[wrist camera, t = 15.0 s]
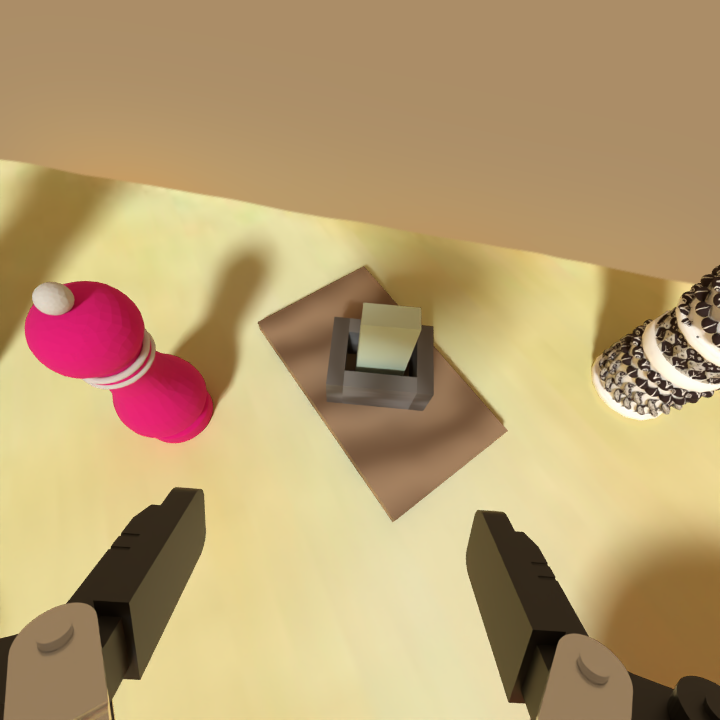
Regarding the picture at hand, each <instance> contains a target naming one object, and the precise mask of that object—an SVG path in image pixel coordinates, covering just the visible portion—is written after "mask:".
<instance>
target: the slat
mask: <svg viewBox="0 0 720 720" xmlns="http://www.w3.org/2000/svg"><path fill="white" fill-rule="evenodd" d="M420 332H421V308H419V307H407V306H396V305H385V304H373V303H363V310H362V318H361V326H360V334H359V342H358V350H357V358H356V368H355V371H356V372H366V373H376V374H387V375H397V376H403V374H404V371H405V369H406V367H407V364H408V362H409V359H410V357H411V354H412V352H413V349H414V347H415V344H416V342H417V339H418V337H419V335H420Z"/></svg>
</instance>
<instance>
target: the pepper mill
mask: <svg viewBox="0 0 720 720" xmlns="http://www.w3.org/2000/svg"><path fill="white" fill-rule="evenodd" d="M32 301H33V303H34V304H33V306H32V307H31V308H30V311H29V313H28V315H27V318H26V322H25V336H26V340H27V343H28V346H29V348H30V350H31V351H32V352H33V354H34V355H35V356H36V358H37V359H38V360H39V361H40V362H41V363H42V364H44V365H45V366H46V367H48V368H49V369H51V370H53V371H55V372H57V373H59V374H61V375H64V376H68V377H72V378H80V379H82V380H84V381H85V382H87V383H88V384H90V385H91V386H93V387H96V388H100V389H109V390H110V391H111V392H112V395H113V404H114V407H115V410H116V412H117V414H118V416H119V418H120V419H121V421H122V422H123V423H124V424H125V425H126V426H127V427H129V428H130V429H131V430H133V431H134V432H135V433H137V434H140V435H142V436H146V437H151V438H157V439H159V440H161V441H163V442H167V443H181V442H185V441H187V440H190V439H192V438H194V437H195V436H197V435H198V434H199V433H201V432H202V431H203V430H204V429H205V427H206V426H207V424H208V423H209V421H210V419H211V416H212V412H213V402H212V399H211V396H210V394H209V393H208V392H207V390H206V384H205V381H204V379H203V377H202V375H201V374H200V373H199V371H198V370H197V369H196V368H195V367H194V366H192V365H191V364H190V363H189V362H187V361H185V360H183V359H181V358H179V357H177V356H174V355H170V354H163V353H160V352H157V351H156V347H155V342H154V340H153V338H152V336H151V335H150V334H149V333H148V332H147V331H146V329H145V328H144V322H143V319H142V316H141V313H140V311H139V309H138V308H137V306H136V305H135V304H134V302H133V301H132V300H130V299H129V298H128V297H127V296H126V295H125V294H123V293H122V292H120V291H119V290H118V289H115V288H113V287H111V286H109V285H106V284H103V283H99V282H91V281H79V282H71V283H66V284H60V283H56V282H46V283H43V284H41V285H39V286H38V287H36V288H35V290H34V292H33V294H32Z"/></svg>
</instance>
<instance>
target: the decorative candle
mask: <svg viewBox="0 0 720 720" xmlns="http://www.w3.org/2000/svg"><path fill="white" fill-rule="evenodd" d="M717 276H718V277H717ZM591 371H592V383H593V385H594V387H595V389H596V391H597V393H598V395H599V397H600V398H601V399H602V400H603V401H604V402H605V403H606V404H607V405H608V406H609V407H610V408H611V409H613V410H614V411H616V412H618V413H619V414H621V415H623V416H624V417H627V418H632V419H636V420H640V421H641V420H647V419H653V418H656V417H658V416H659V415H660V414H662V413H664V414H669V412H670V407H671V406H672V407H674V408H676V409H678V410H680V409H682V405H684V404H686V403H688V402H690V403H696V402H697V401H698V400H699V398H701V396H703V397H707V398H709V397H711V396H712V395H713V394H714V390H720V265H719V266H718V267H716V268H714V269H713V271H712V274H708V275H705V276H703V277H702V278H701V283H698V284H695V285H694V286H693V287H692V288H691V290H690V291H689V292H685V293H684V294H683V295H682V296H681V297H680V299H679V302H678V304H677V307H675V308H674V309H672V310H670V311H666V312H665V313H664V314H662V315H661V316H659V317H658V318H656V319H655V320H647V321H645V322H644V324H643V326H638V327H637V328H636V329H634V331H633V334H627V335H626V336H624V337H623V338H621V339H620V341H618V342H616V343H614V344H613V345H612V346H611V347H610V348H609V349H606V350H605V351H604V352H603V354H601V355H600V356H598V357H597V358H596V360H595V362H594V364H593V366H592V368H591ZM669 405H670V406H669Z"/></svg>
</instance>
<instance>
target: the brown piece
mask: <svg viewBox="0 0 720 720" xmlns="http://www.w3.org/2000/svg"><path fill="white" fill-rule="evenodd" d="M363 303H373V304H385V305H396V306H398V305H397V304H396V302H395V301H394V300H393V299H392V298H391V297H390V296H389V294H388V293H387V292H386V291H385V290H384V289H383V288H382V286H381V285H380V284H379V283H378V282H377V281H376V279H375V278H374V277H373V276H372V275H371V274H370V273H369V271H368V270H367V269H366V268H365V267H364V266H363V267H362V268H360V269H358V270H356V271H354V272H352V273H350V274H348V275H346V276H344V277H343V278H341V279H339V280H337V281H335V282H333V283H331V284H329V285H327V286H326V287H324V288H322V289H320V290H318V291H316V292H314V293H312V294H310V295H308V296H307V297H305V298H303V299H301V300H299V301H297V302H295V303H293V304H291V305H289V306H288V307H286V308H284V309H282V310H280V311H278V312H276V313H274V314H272V315H270V316H269V317H267V318H265V319H263V320H261V321H259V322H258V324H259V327H260V330H261V331H262V333H263V334H264V336H265V337H266V339H267V340H268V341H269V343H270V344H271V346H272V347H273V349H274V350H275V352H276V353H277V355H278V356H279V357H280V359H281V360H282V362H283V363H284V365H285V366H286V368H287V369H288V371H289V372H290V373H291V375H292V376H293V378H294V379H295V381H296V382H297V384H298V385H299V387H300V388H301V389H302V391H303V392H304V394H305V395H306V397H307V398H308V400H309V401H310V403H311V404H312V405H313V407H314V408H315V410H316V411H317V413H318V414H319V416H320V417H321V419H322V420H323V421H324V423H325V424H326V426H327V427H328V429H329V430H330V432H331V433H332V435H333V436H334V437H335V439H336V440H337V442H338V443H339V445H340V446H341V448H342V449H343V451H344V452H345V453H346V455H347V456H348V458H349V459H350V461H351V462H352V464H353V465H354V467H355V468H356V469H357V471H358V472H359V474H360V475H361V477H362V478H363V480H364V481H365V483H366V484H367V485H368V487H369V488H370V490H371V491H372V493H373V494H374V496H375V497H376V499H377V500H378V501H379V503H380V504H381V506H382V507H383V509H384V510H385V512H386V513H387V515H388V516H389V517H390V519H391V520H392V522H393V521H395V520H397V519H398V518H399V517H400V516H402V515H403V514H404V513H405V512H407V511H408V510H409V509H410V508H412V507H413V506H414V505H415V504H417V503H418V502H419V501H420V500H422V499H423V498H424V497H425V496H427V495H428V494H429V493H430V492H432V491H433V490H434V489H435V488H437V487H438V486H439V485H440V484H442V483H443V482H444V481H445V480H447V479H448V478H449V477H450V476H452V475H453V474H454V473H455V472H457V471H458V470H459V469H461V468H462V467H463V466H464V465H466V464H467V463H468V462H469V461H471V460H472V459H473V458H474V457H476V456H477V455H478V454H479V453H481V452H482V451H483V450H484V449H486V448H487V447H488V446H489V445H491V444H492V443H493V442H494V441H496V440H497V439H498V438H499V437H501V436H502V435H503V434H504V433H506V432H507V429H506V428H505V427H504V426H503V425H502V424H501V423H500V421H499V420H498V419H497V418H496V417H495V416H494V415H493V413H492V412H491V411H490V410H489V409H488V408H487V407H486V405H485V404H484V403H483V402H482V401H481V400H480V398H479V397H478V396H477V395H476V394H475V393H474V392H473V390H472V389H471V388H470V387H469V386H468V385H467V384H466V382H465V381H464V380H463V379H462V378H461V377H460V376H459V374H458V373H457V372H456V371H455V370H454V369H453V368H452V366H451V365H450V364H449V363H448V362H447V361H446V360H445V358H444V357H443V356H442V355H441V354H440V353H439V352H438V350H437V349H436V348H435V347H434V346H433V326H423V325H421V332H420V335H419V337H418V339H417V342H416V344H415V347H414V349H413V352H412V354H411V357H410V359H409V362H408V364H407V367H406V369H405V371H404V374H403V376H397V375H387V374H376V373H366V372H356V371H355V368H356V358H357V350H358V342H359V334H360V326H361V318H362V310H363Z"/></svg>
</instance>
